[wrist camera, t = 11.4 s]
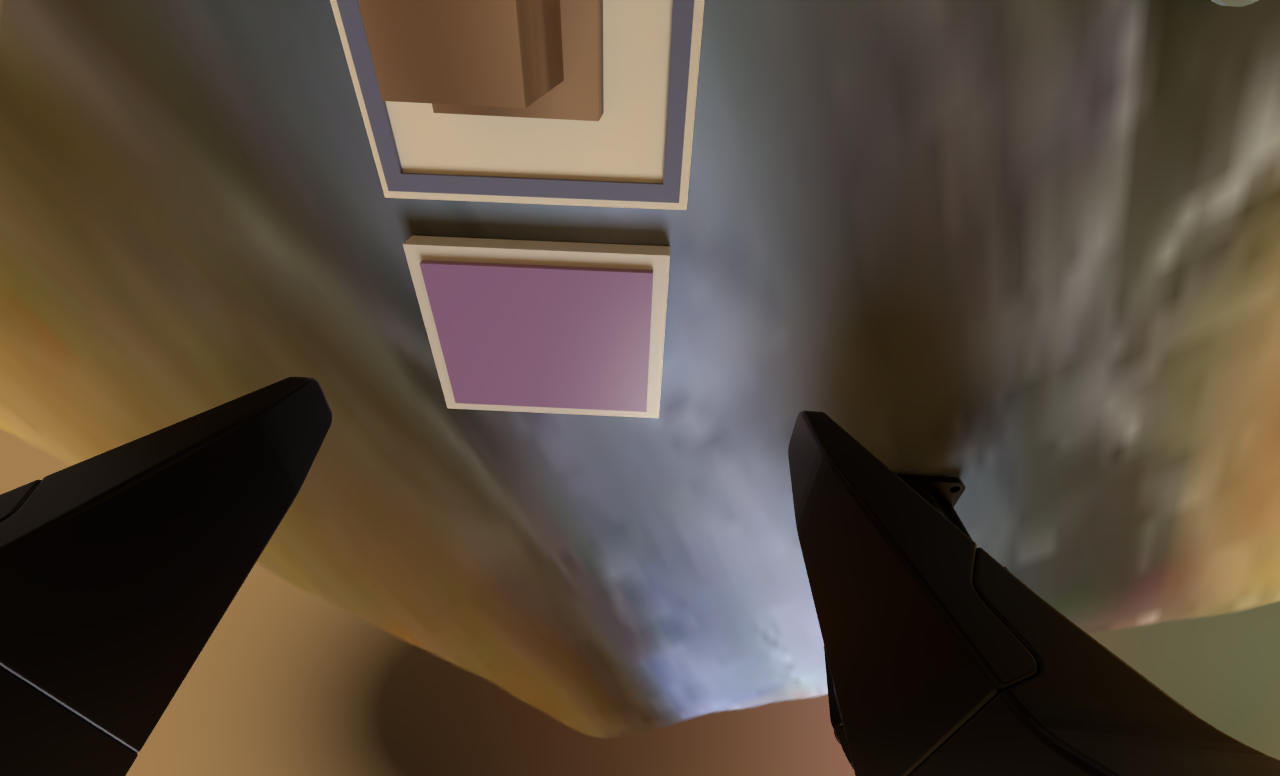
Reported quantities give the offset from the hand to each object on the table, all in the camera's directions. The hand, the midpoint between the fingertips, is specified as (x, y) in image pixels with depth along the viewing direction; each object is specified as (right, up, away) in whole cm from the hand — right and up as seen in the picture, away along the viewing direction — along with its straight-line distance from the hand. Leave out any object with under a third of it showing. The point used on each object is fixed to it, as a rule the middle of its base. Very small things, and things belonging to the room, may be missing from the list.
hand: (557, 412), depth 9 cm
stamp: (-2, +12, +5) cm, 13 cm away
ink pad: (-2, +3, +12) cm, 13 cm away
